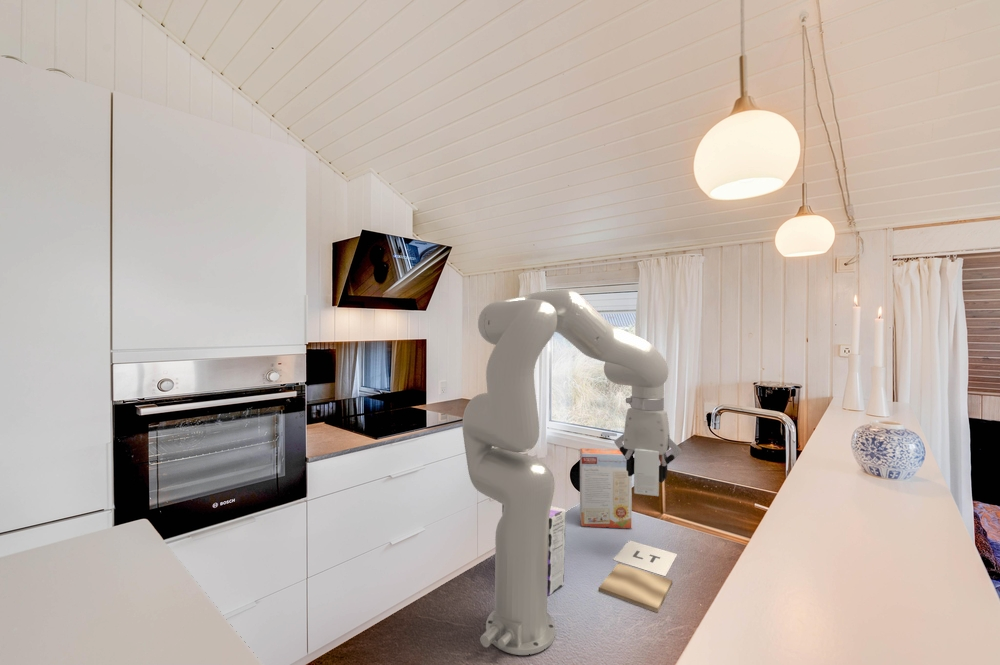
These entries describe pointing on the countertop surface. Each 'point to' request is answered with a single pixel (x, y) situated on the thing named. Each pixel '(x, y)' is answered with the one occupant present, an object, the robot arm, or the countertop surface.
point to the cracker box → (605, 489)
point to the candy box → (555, 549)
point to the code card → (646, 558)
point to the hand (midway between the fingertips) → (646, 477)
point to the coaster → (636, 587)
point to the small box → (646, 472)
